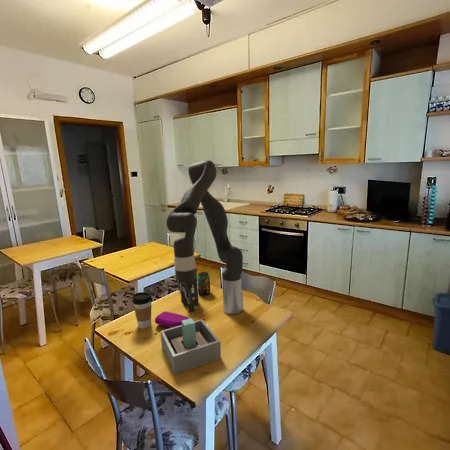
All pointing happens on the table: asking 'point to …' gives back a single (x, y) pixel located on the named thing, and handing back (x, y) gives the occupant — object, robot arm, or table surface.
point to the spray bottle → (170, 319)
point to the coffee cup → (142, 309)
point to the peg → (188, 333)
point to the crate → (194, 355)
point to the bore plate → (178, 343)
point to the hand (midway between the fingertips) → (188, 307)
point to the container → (196, 290)
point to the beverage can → (203, 283)
